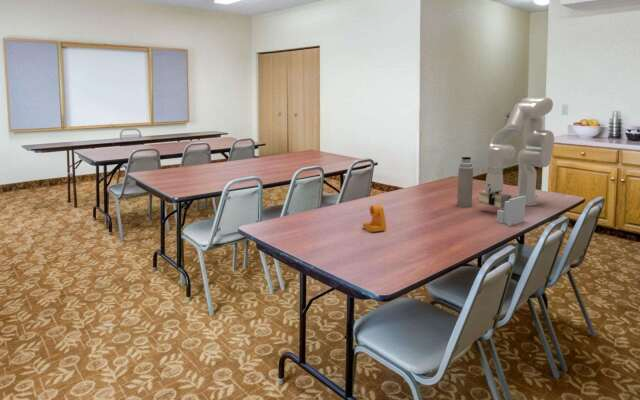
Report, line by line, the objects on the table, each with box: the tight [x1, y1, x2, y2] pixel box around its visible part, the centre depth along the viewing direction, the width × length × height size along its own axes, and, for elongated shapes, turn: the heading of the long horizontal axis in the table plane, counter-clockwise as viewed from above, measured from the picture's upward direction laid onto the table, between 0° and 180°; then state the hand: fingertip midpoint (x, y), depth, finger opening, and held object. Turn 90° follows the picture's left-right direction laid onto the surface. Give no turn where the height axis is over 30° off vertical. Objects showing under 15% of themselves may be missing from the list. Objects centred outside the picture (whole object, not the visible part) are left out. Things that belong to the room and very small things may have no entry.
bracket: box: [362, 204, 387, 233], centre depth 240 cm, size 11×7×12 cm, turn 23°
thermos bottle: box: [456, 156, 474, 208], centre depth 283 cm, size 8×8×28 cm
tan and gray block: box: [478, 190, 512, 209], centre depth 266 cm, size 5×16×6 cm, turn 37°
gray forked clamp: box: [496, 196, 526, 227], centre depth 249 cm, size 8×13×13 cm, turn 128°
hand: (494, 203), depth 267 cm, fingers closed on tan and gray block, 4 cm apart
